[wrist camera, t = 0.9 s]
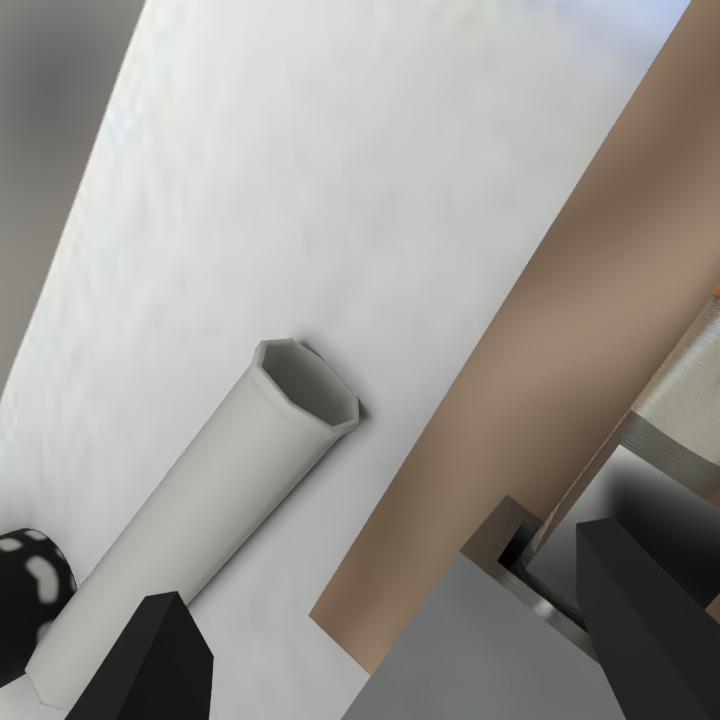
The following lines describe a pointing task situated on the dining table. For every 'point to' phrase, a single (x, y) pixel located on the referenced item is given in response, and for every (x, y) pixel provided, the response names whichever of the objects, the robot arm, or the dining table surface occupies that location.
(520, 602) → the sleeve
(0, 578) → the white-spotted black cylinder
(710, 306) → the inner tube
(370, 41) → the dining table surface
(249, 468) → the tube
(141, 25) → the dining table surface
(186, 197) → the dining table surface
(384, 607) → the base board
